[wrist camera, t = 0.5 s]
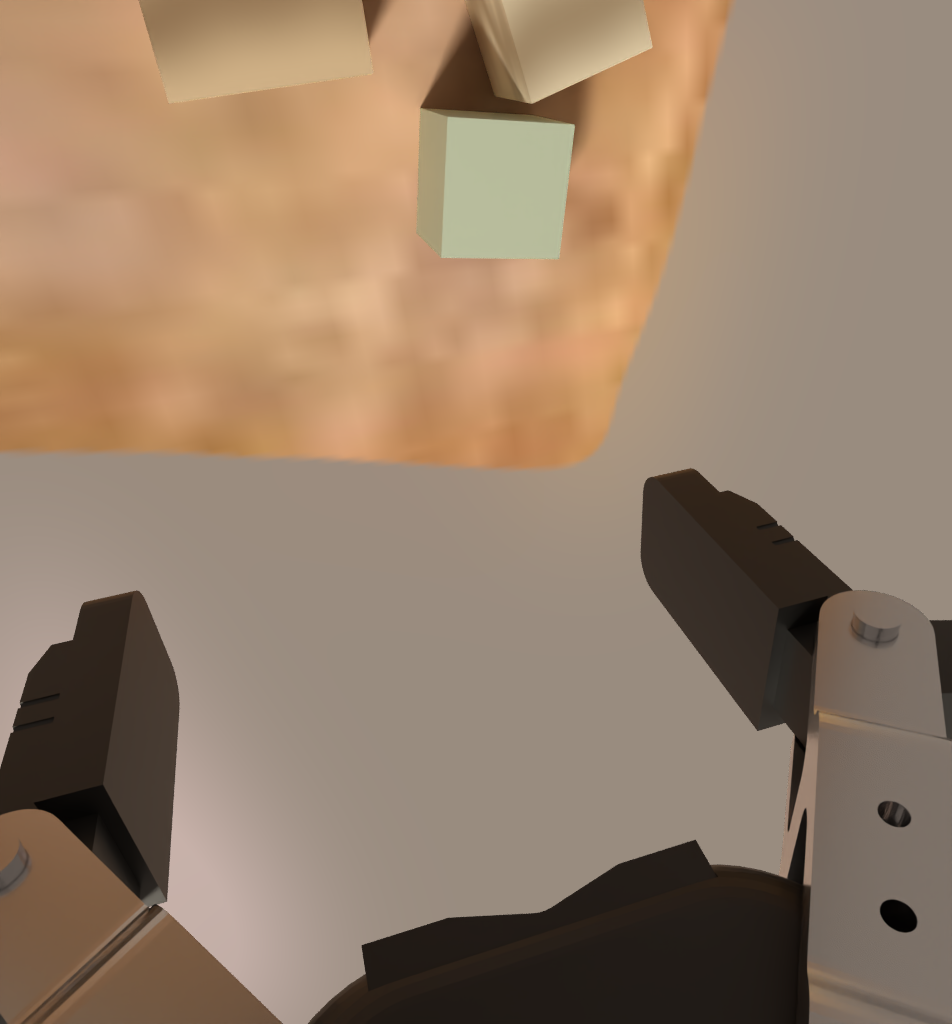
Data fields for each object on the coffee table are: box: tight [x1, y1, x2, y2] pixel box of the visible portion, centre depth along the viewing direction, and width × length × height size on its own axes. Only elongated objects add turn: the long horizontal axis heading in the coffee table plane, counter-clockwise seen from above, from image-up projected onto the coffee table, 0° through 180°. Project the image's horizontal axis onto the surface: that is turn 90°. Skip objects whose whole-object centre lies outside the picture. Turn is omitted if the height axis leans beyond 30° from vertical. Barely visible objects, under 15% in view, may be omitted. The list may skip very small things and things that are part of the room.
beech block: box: [465, 0, 653, 104], centre depth 30 cm, size 5×5×5 cm
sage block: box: [416, 108, 575, 259], centre depth 32 cm, size 5×5×5 cm
